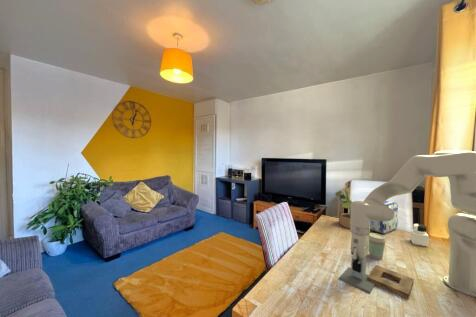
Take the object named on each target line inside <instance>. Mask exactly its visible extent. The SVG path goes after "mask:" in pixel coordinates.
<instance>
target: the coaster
mask: <svg viewBox="0 0 476 317" xmlns="http://www.w3.org/2000/svg"><path fill="white" fill-rule="evenodd" d="M368 275H369V274H367V273H366V275H365V276H364V278H363V279H361V278H359V277H356V276H354V275H352V274H351V266H350V267H349V266H348V267H347V268H346V269H345V270H344V272H342V274H341V275H340V276H338V280H340V281H342V280H343V281H342V282H344V281H345V282H344V283H347V284H349V285H351V286H353V287H355V288H356V289H359V290H361V291H364V292H366V293H368V294H371V293H372V290H373V289H374V288H375V286H376V285H375V283H374V282H372V281H370V280H367V277H368Z"/></svg>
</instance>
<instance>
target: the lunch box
mask: <svg viewBox="0 0 476 317" xmlns="http://www.w3.org/2000/svg"><path fill="white" fill-rule="evenodd" d="M384 204H386V205H388V206H390V207H391V208H392V209H393V211H394V218H393V219H392V220H390V221H386V222H383V221H377V220H370V231H373V232H376V233H379V234H381V235H385V234H388V233H390V232H392V231H395V230H396V229H398V225H399V216H398V214H399V207H398V206H399V204H398V203H397V202H396V201H395V202H394V201H393V202H392V201H389V200H388V201H387V200H386V201H385V202H384Z"/></svg>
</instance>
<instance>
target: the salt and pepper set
mask: <svg viewBox="0 0 476 317" xmlns="http://www.w3.org/2000/svg"><path fill="white" fill-rule="evenodd" d="M412 226H413V229H411V230H410V241H411V243H412V244H413V245H416V246H420V245H421V246H422V247H425V246H426V248H428V247H429V240H430V239H429V237H430V236H429V234H428V233H427V226H426V225H424V224H421V223H413V225H412Z"/></svg>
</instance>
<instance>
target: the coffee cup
mask: <svg viewBox="0 0 476 317" xmlns="http://www.w3.org/2000/svg"><path fill="white" fill-rule="evenodd" d="M386 242H387V238H386V237H385V236H384V234H381V233H378V232H376V233H375V232H370V235H369V253H368V255H369V257H370V258H372V259H374V260H376V261H377V260H378V261H381V260H383V256H384V251H385V245H386Z"/></svg>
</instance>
